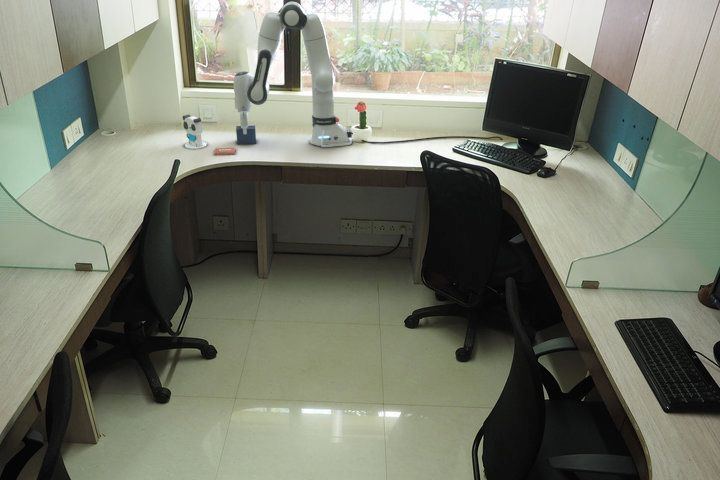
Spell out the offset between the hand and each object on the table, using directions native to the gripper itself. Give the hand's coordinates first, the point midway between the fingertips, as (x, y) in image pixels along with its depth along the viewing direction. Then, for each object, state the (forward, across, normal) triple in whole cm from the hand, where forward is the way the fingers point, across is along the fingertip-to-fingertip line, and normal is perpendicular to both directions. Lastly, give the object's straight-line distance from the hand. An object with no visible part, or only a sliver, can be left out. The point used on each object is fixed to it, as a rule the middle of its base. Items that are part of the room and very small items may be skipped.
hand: (245, 131), depth 327 cm
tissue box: (+6, 0, -1) cm, 6 cm away
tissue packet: (+6, -15, +10) cm, 19 cm away
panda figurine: (+7, -2, +26) cm, 27 cm away
